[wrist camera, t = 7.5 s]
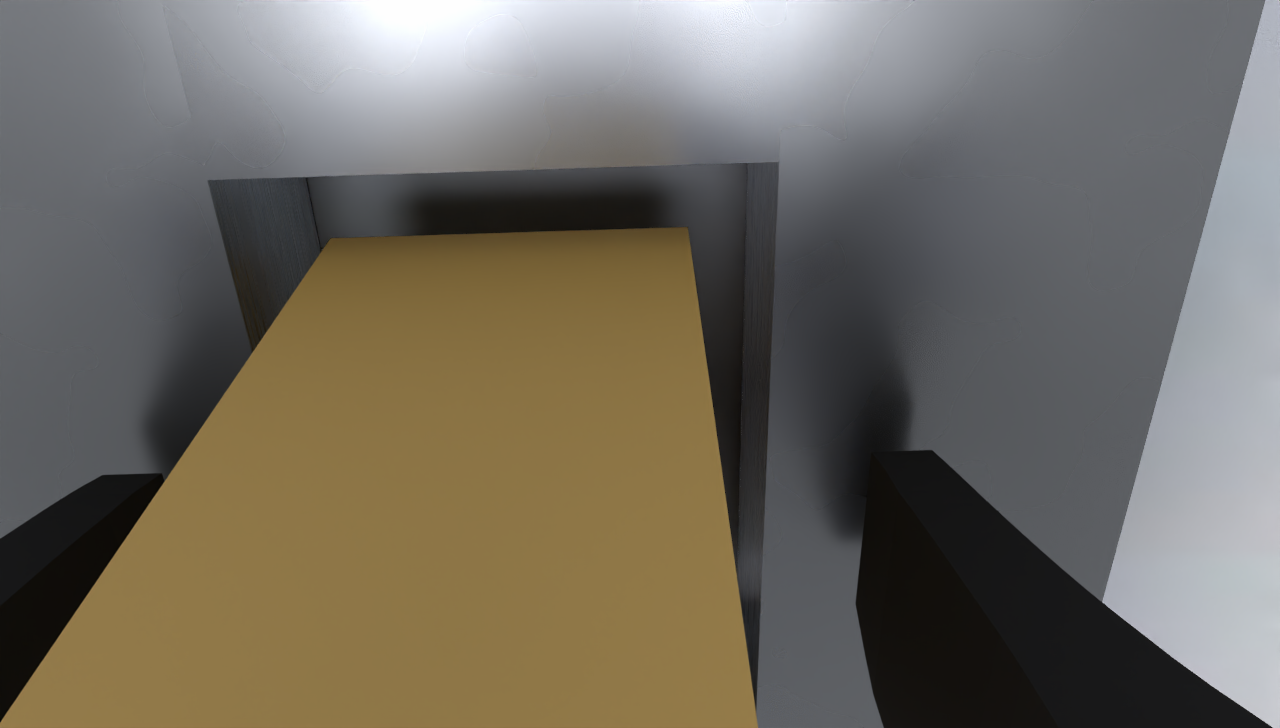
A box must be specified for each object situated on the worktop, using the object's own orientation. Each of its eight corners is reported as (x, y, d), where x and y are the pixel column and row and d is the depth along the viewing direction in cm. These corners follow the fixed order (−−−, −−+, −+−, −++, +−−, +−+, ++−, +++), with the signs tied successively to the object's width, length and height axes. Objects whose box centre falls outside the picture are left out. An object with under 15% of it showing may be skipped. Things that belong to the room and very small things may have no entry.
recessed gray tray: (984, 676, 16) (1042, 817, 13) (162, 700, 16) (87, 844, 13) (1188, -328, 9) (1366, -370, 7) (-215, -279, 9) (-478, -305, 7)
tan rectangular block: (682, 561, 14) (734, 1275, 7) (443, 568, 14) (269, 1286, 7) (678, 161, 11) (758, 727, 4) (376, 171, 11) (-19, 750, 4)
